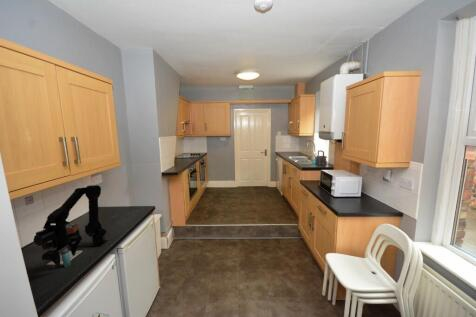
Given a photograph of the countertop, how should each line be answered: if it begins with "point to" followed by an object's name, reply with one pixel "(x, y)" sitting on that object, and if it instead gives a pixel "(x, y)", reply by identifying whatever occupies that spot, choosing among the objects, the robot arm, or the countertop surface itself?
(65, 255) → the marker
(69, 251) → the notepad
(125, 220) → the countertop surface
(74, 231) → the battery
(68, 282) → the countertop surface
